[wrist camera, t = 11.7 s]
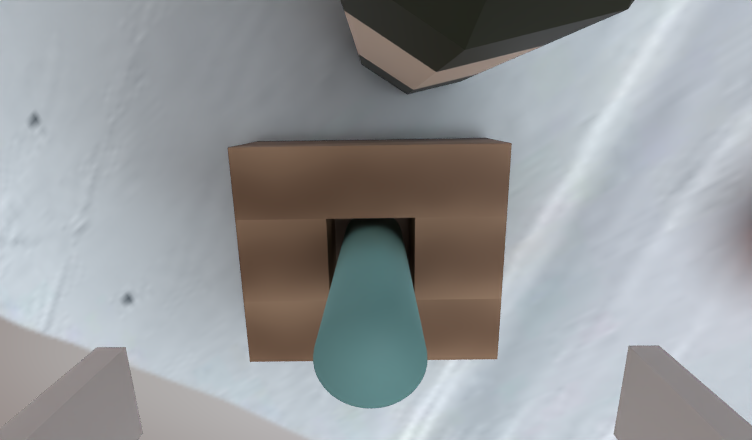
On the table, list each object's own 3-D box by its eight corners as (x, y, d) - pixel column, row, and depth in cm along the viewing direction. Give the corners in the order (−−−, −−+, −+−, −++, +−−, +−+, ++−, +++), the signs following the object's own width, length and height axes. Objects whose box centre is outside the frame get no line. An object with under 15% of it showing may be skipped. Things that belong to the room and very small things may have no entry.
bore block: (256, 141, 25) (227, 147, 20) (485, 137, 25) (511, 143, 20) (272, 319, 28) (249, 361, 23) (476, 316, 28) (497, 358, 23)
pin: (342, 211, 25) (308, 309, 12) (401, 208, 25) (427, 305, 12) (346, 266, 26) (317, 410, 13) (402, 264, 26) (427, 406, 13)
